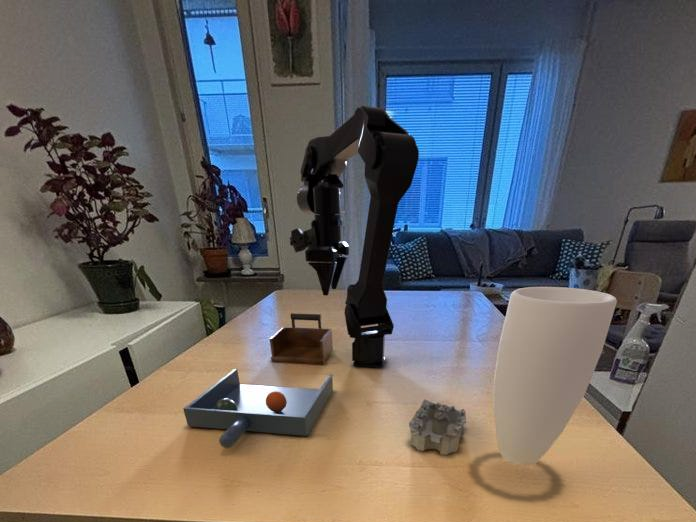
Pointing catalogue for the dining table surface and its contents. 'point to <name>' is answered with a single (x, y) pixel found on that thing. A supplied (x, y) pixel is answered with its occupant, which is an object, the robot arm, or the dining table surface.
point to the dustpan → (257, 409)
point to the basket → (302, 342)
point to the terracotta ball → (276, 401)
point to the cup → (545, 365)
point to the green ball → (226, 405)
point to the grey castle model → (437, 427)
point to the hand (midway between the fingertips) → (330, 292)
